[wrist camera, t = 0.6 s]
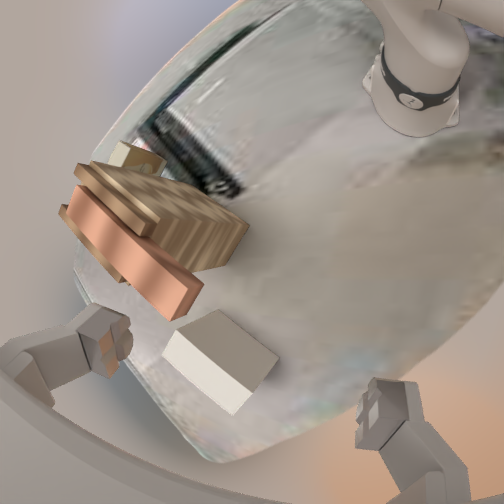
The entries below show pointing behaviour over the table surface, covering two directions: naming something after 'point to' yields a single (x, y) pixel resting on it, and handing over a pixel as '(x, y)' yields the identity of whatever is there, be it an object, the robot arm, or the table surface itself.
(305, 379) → the table surface
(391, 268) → the table surface
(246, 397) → the shelf
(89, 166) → the chute stand
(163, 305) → the bar
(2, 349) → the robot arm
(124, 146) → the skincare box
